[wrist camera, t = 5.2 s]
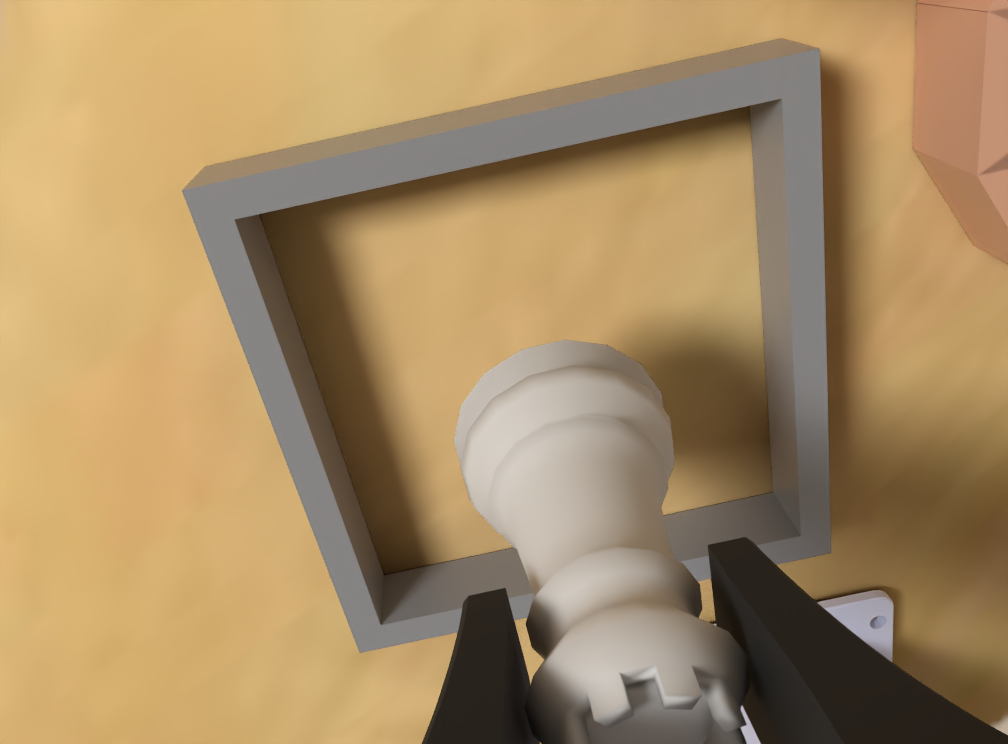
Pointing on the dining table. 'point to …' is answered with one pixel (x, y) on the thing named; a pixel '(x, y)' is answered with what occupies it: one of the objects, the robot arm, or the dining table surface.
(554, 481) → the rook chess piece
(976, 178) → the bowl
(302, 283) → the dining table surface
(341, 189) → the grey square frame
